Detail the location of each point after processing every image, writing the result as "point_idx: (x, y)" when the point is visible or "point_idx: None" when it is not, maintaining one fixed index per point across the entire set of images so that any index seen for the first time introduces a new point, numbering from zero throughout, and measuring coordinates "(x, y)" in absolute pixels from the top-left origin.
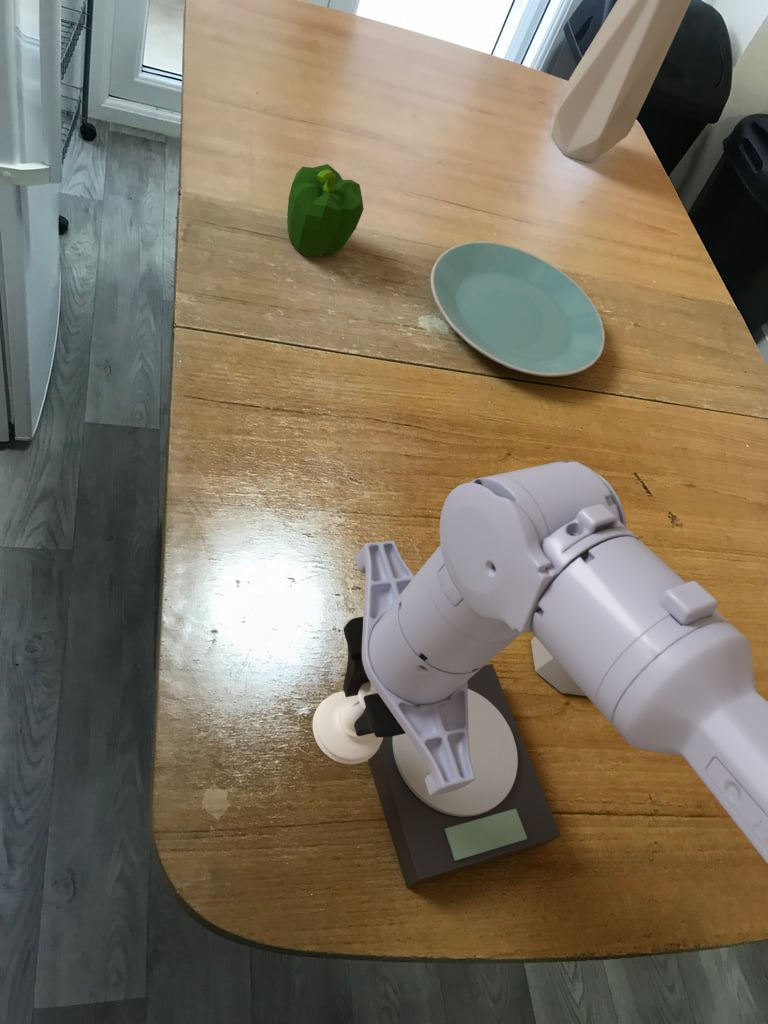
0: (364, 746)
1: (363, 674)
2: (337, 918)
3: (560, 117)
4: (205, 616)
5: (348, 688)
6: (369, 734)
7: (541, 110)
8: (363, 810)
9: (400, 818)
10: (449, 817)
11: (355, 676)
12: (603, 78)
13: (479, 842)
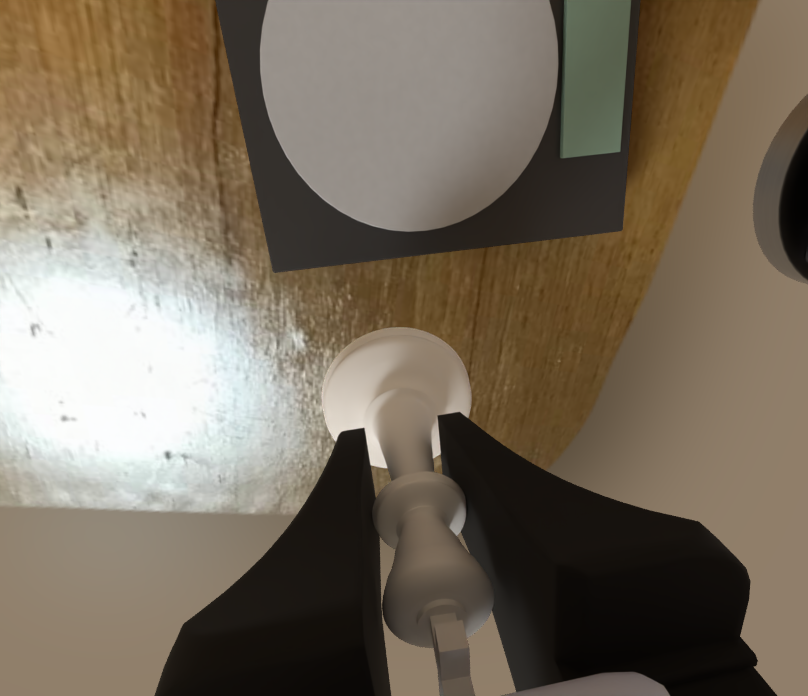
0: (451, 393)
1: (378, 599)
2: (597, 332)
3: None
4: (143, 466)
5: (379, 545)
6: (430, 384)
7: None
8: (468, 269)
9: (521, 242)
10: (542, 140)
11: (380, 610)
12: None
13: (606, 87)
